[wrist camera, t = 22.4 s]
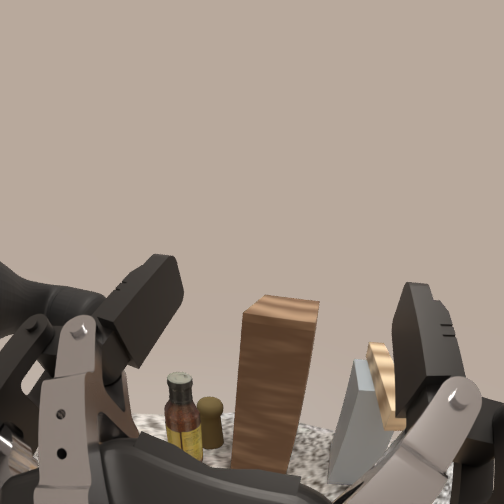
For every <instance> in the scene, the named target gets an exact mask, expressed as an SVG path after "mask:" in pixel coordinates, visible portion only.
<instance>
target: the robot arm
mask: <svg viewBox="0 0 504 504" xmlns="http://www.w3.org/2000/svg"><path fill="white" fill-rule="evenodd" d="M183 296H184V290H183V285H182V281H181V277H180V273H179V270H178V265H177V261H176V259H175V257H174V256H169V255H160V254H153V255H152V256H151V257H150V258H149V259H148V260H147V261H146V262H145V263H144V264H143V265H141V266H140V267H138V268H137V269H135V270H133V271H132V272H130V273H129V274H128V275H127V276H126V277H125V279H124V280H123V281H122V283H120V284H119V285H118V286H117V287H116V290H113V292H112V293H111V294H110V295H109V296H108V297H107V298H105V297H104V296H103V295H102V294H99V293H96V292H92V291H87V290H82V289H77V288H73V287H68V286H58V285H50V284H43V283H38V282H33V281H29V280H26V279H24V278H21V277H20V276H18V275H17V274H15V273H14V272H13V271H12V270H11V269H9V268H8V267H7V266H5V265H4V264H3V263H1V262H0V339H1V338H3V337H5V336H8V335H11V334H14V335H13V336H12V337H11V338H10V340H9V341H8V342H7V343H6V345H5V346H4V347H3V349H2V350H1V351H0V504H432V503H433V502H434V500H435V499H436V498H437V496H438V495H439V493H440V492H441V491H442V489H443V488H444V486H445V484H446V482H447V479H448V476H447V475H446V471H447V469H448V467H449V466H450V464H451V463H452V462H454V467H453V481H452V491H451V499H450V504H504V403H501V402H498V401H494V400H490V399H487V398H484V397H481V393H480V391H479V389H478V387H477V386H476V384H475V383H474V382H472V381H471V380H470V379H468V378H466V376H465V372H464V367H463V363H462V359H461V354H460V350H459V346H458V342H457V339H456V337H455V331H454V328H453V327H452V325H453V324H452V321H451V318H450V315H449V312H448V310H447V309H446V308H445V306H444V305H443V304H442V303H441V301H437V300H433V297H432V294H431V291H430V287H429V285H428V284H423V283H412V282H406V284H405V285H404V288H403V291H402V294H401V297H400V301H399V303H398V306H397V310H396V312H395V315H394V318H393V323H392V343H393V357H394V375H395V418H406V428H405V429H404V430H403V431H402V432H401V434H400V435H399V436H398V437H397V439H396V440H395V441H394V442H393V443H392V444H391V446H390V447H389V448H388V449H387V450H386V451H385V452H384V454H383V455H382V456H381V457H380V458H379V459H378V460H377V461H376V462H375V463H374V464H373V465H372V467H371V468H370V469H369V470H368V471H367V472H366V473H365V474H363V475H362V476H361V477H360V478H359V479H358V480H357V481H356V482H354V483H353V484H352V485H351V486H350V487H349V488H348V489H347V490H346V491H344V492H343V493H342V494H341V495H340V496H339V497H338V498H337V499H335V500H334V501H333V502H331V501H330V500H328V499H327V498H326V497H325V496H324V495H322V494H321V493H319V492H318V491H316V490H314V489H312V488H310V487H308V486H306V485H303V484H301V483H300V480H301V476H293V475H287V474H281V473H275V472H270V471H265V470H260V469H224V468H212V467H209V466H207V465H205V464H204V463H202V462H201V461H199V460H197V459H196V458H194V457H193V456H191V455H189V454H188V453H186V452H185V451H183V450H182V449H180V448H179V447H177V446H176V445H174V444H171V443H169V442H166V441H164V440H161V439H159V438H156V437H154V436H151V435H149V434H147V433H144V432H142V431H141V433H140V435H139V432H138V429H137V427H136V425H135V424H134V421H133V419H132V415H131V409H130V402H129V395H128V387H127V378H126V373H125V371H124V369H125V367H126V366H127V365H130V366H132V367H135V368H138V369H139V368H140V366H141V365H142V363H143V362H144V360H145V359H146V357H147V356H148V354H149V352H150V351H151V349H152V348H153V346H154V345H155V343H156V342H157V340H158V339H159V337H160V335H161V334H162V332H163V331H164V329H165V328H166V326H167V325H168V323H169V322H170V320H171V319H172V317H173V315H174V314H175V313H176V311H177V310H178V308H179V307H180V305H181V303H182V301H183ZM36 360H37V361H38V362H39V363H40V364H41V366H42V367H43V368H44V369H45V371H44V372H43V374H42V375H41V377H40V378H39V380H38V381H37V383H36V384H35V386H34V387H33V389H32V390H31V392H30V393H29V394H28V395H25V394H24V393H23V391H22V389H21V382H22V380H23V378H24V377H25V375H26V374H27V372H28V371H29V370H30V368H31V367H32V365H33V364H34V363H35V361H36ZM37 448H38V453H39V468H38V461H37V460H36V459H35V458H34V457H33V455H34V453H35V451H36V449H37ZM494 458H495V473H494ZM29 470H30V471H29ZM493 477H494V490H493Z"/></svg>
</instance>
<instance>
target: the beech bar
mask: <svg viewBox="0 0 504 504" xmlns="http://www.w3.org/2000/svg"><path fill="white" fill-rule="evenodd" d="M366 358H367V362H368V366H369V369H370V373H371V377H372V381H373V385H374V389H375V393H376V397H377V401H378V405H379V409H380V414H381V418H382V423H383V428H384V431H403V430H404V429H405V428H406V418H395V375H394V363H393V361H392V359H391V357H390V355H389V352H388V351H387V349H386V347H385V344H384V343H374V342H369V345H368V350H367V354H366Z"/></svg>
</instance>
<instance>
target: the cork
mask: <svg viewBox="0 0 504 504" xmlns="http://www.w3.org/2000/svg"><path fill="white" fill-rule="evenodd" d="M197 409H198V411H199V412H200V420H201V433H202V448H205V449H216V448H219V447H221V446H222V445H223V443H224V439H223V432H222V424H221V417H220V416H221V414H222V413H223V404H222V402H221V401H220V400H219V399H217V398H215V397H204V398H202V399H200V400H199V401H198V403H197Z"/></svg>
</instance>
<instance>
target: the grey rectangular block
mask: <svg viewBox="0 0 504 504" xmlns="http://www.w3.org/2000/svg"><path fill="white" fill-rule="evenodd" d="M393 363H394V362H393ZM393 432H394V431H384V428H383V423H382V418H381V414H380V409H379V405H378V401H377V397H376V393H375V389H374V385H373V381H372V377H371V373H370V369H369V366H368V362H367V360H359V359H354V361H353V366H352V370H351V375H350V379H349V383H348V387H347V391H346V395H345V399H344V403H343V406H342V410H341V414H340V417H339V421H338V424H337V427H336V431H335V434H334V437H333V440H332V443H331V447H330V460H329V471H328V481H327V483H329V484H345V485H352V484H353V483H354V482H356V481H357V480H358V479H359V478H360V477H361V476H362V475H363V474H365V473H366V472H367V471H368V470H369V469H370V468H371V467H372V465H373V464H374V463H375V462H376V461H377V460H378V459H379V458H380V457H381V456H382V455H383V454H384V452H385V451H386V449H387V446H388V444H389V442H390V439H391V437H392V435H393Z"/></svg>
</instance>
